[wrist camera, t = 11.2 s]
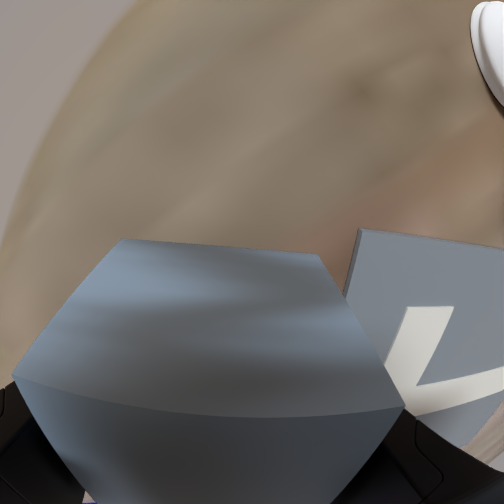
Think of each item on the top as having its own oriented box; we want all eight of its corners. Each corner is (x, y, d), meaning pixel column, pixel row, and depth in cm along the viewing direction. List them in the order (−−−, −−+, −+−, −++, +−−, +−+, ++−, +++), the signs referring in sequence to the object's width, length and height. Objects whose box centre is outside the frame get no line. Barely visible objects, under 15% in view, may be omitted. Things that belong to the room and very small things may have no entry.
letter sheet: (569, 261, 10) (573, 264, 10) (466, 441, 16) (468, 445, 16) (358, 228, 9) (363, 232, 8) (275, 482, 15) (276, 487, 14)
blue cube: (317, 253, 8) (405, 405, 3) (285, 390, 10) (310, 523, 5) (121, 238, 7) (11, 374, 3) (137, 379, 9) (102, 509, 5)
